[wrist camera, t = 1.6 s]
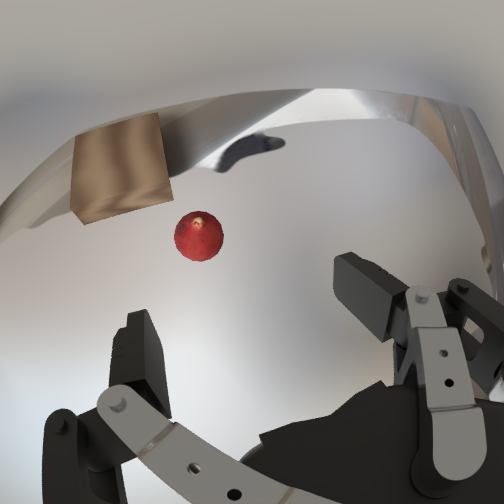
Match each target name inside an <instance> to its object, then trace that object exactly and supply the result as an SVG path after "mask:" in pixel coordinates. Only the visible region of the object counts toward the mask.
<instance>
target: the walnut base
mask: <svg viewBox="0 0 504 504" xmlns="http://www.w3.org/2000/svg"><path fill="white" fill-rule="evenodd" d="M169 201H173V196H172V190H171V185H170V180H169V175H168V170H167V164H166V159H165V153H164V148H163V142H162V136H161V130H160V124H159V117H158V112H157V113H153V114H149V115H144V116H140V117H136V118H133V119H129V120H125V121H122V122H118V123H115V124H111V125H108V126H105V127H102V128H98V129H95V130H92V131H89V132H86V133H84V134H81V135H78V136H76V139H75V146H74V155H73V165H72V178H71V198H70V209H71V210H72V211H73V212H74V214H75V215H76V216H77V217H78V218H79V220H80V221H81V222H82V223H83V224H84V225H86V224H89V223H92V222H96V221H99V220H102V219H106V218H109V217H111V216H112V217H113V216H116V215H120V214H123V213H127V212H130V211H134V210H138V209H141V208H145V207H149V206H153V205H157V204H161V203H164V202H169Z"/></svg>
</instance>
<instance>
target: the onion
mask: <svg viewBox="0 0 504 504" xmlns="http://www.w3.org/2000/svg"><path fill="white" fill-rule="evenodd" d="M223 238H224V234H223V231H222V227H221V224H220V223H219V222H218V220H217V219H216V218H215V217H214V216H213V215H211V214H209V213H207V212H201V211H197V212H191V213H189V214H187V215H185V216H184V217H182V219H181V220H180V221H179V223H178V224H177V226H176V229H175V234H174V240H175V244H176V247H177V249H178V250H179V251H180V252H181V254H182V255H183V256H185V257H187V258H189V259H191V260H192V261H205V260H208V259H211V258H212V257H214V256H215V255H216V254H218V252H219V250H220V249H221V247H222V244H223Z"/></svg>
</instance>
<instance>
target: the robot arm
mask: <svg viewBox="0 0 504 504" xmlns="http://www.w3.org/2000/svg"><path fill="white" fill-rule="evenodd" d="M333 289H334V293H335V295H336V297H337V299H338V300H339V301H340V302H341V303H343V305H344V306H345V307H346V308H347V309H348V310H350V312H351V313H352V314H353V315H354V316H356V317H357V318H358V319H359V320H360V321H361V322H362V323H363V324H364V325H365V326H366V327H367V328H368V329H369V330H370V331H371V332H372V333H373V334H374V335H375V336H376V337H377V338H378V339H379V340H380V341H381V342H382V343H383V342H385V341H387V340H389V339H391V338H393V339H394V343H393V359H394V383H393V386H388V387H386V386H385V384H384V383H383V382H382V381H381V380H380V381H378V382H377V383H375V384H373V385H371V386H370V387H368V388H366V389H364V390H362V391H360V392H358V393H357V394H355V395H354V396H353V397H352V398H350V399H349V400H348V401H347V402H346V403H344V404H343V405H342V406H341V407H340V408H339V409H337V410H336V411H335V412H334V413H332V414H331V415H329V416H325V417H320V418H315V419H310V420H305V421H299V422H293V423H290V424H288V425H285V426H282V427H280V428H277V429H274V430H271V431H269V432H265V433H262V434H259V437H260V441H261V443H260V444H258V445H257V446H255V447H254V448H252V449H251V450H250V451H249V452H247V453H246V454H245V455H244V456H243V457H242V458H241V459H240V461H239V462H238V461H236V460H235V459H233V458H231V457H230V456H228V455H226V454H224V453H223V452H221V451H220V450H218V449H217V448H215V447H213V446H212V445H210V444H209V443H207V442H206V441H204V440H202V439H201V438H200V437H198V436H197V435H195V434H194V433H192V432H191V431H189V430H188V429H187V428H185V427H184V426H182V425H181V424H179V423H177V422H174V423H173V422H171V421H170V420H168V419H171V418H172V416H171V410H170V403H169V396H168V389H167V382H166V372H165V363H164V354H163V349H162V344H161V341H160V339H159V337H158V334H157V332H156V330H155V327H154V325H153V323H152V320H151V318H150V316H149V313H148V311H147V310H146V309H144V310H140V311H136V312H132V313H128V316H127V326H126V327H124V328H120V329H119V330H118V332H117V333H116V335H115V337H114V339H113V346H112V349H113V350H112V355H111V357H112V358H111V364H110V375H109V388H108V389H106V390H105V391H104V392H103V393H102V394H101V395H100V397H99V399H98V401H97V407H96V408H94V409H92V410H89V411H87V412H85V413H83V414H80V415H78V416H76V415H75V414H74V413H73V412H72V411H71V410H68V409H59V410H56V411H54V412H53V413H52V414H51V415H50V416H49V417H48V418H47V420H46V423H45V427H44V439H43V455H42V496H43V504H128V503H127V498H126V492H125V487H124V481H123V475H122V469H121V464H122V463H125V462H127V461H129V460H132V459H134V458H136V457H138V459H139V460H140V461H141V462H143V463H144V464H145V465H146V466H147V467H148V468H149V469H150V470H151V471H152V472H153V473H154V474H156V475H157V476H158V477H159V478H160V479H161V480H163V481H164V482H165V483H166V484H167V485H168V486H170V487H171V488H172V489H174V490H175V491H176V492H177V493H178V494H180V495H181V496H183V497H184V498H185V499H186V500H187V501H189V502H190V503H192V504H504V306H503V305H501V304H500V303H499V302H497V301H496V300H495V299H493V298H492V297H490V296H489V295H488V294H486V293H485V292H484V291H482V290H481V289H480V288H478V287H477V286H475V285H474V284H473V283H471V282H470V281H468V280H465V279H460V278H456V279H453V280H451V281H450V282H449V286H448V289H447V291H445V292H440V293H435V292H434V291H433V290H431V289H430V288H428V287H424V286H414V287H411V288H410V287H408V286H407V285H405V284H404V283H403V282H401V281H400V280H398V279H397V278H395V277H394V276H393V275H391V274H389V273H388V272H387V271H386V270H384V269H382V268H381V267H380V266H378V265H377V264H375V263H373V262H371V261H368V260H365V259H362V258H361V257H359V256H358V255H356V254H355V253H353V252H348V253H345V254H342V255H339V256H336V257H335V259H334V281H333ZM467 318H470V319H471V320H472V321H473V322H474V323H476V324H477V325H478V326H479V327H480V328H481V329H482V330H483V332H484V340H483V342H482V344H481V343H480V342H478V341H477V340H476V339H475V338H474V337H473V336H472V335H471V334H470V333H468V332H467V331H466V330H465V329H464V326H465V323H466V321H467ZM470 377H471V378H472V379H473V380H474V381H475V382H476V383H477V384H478V385H479V386H480V387H481V389H482V390H483V391H484V392H485V393H486V394H487V395H488V396H489V398H490V400H484V399H478V398H474V395H473V389H472V384H471V379H470Z"/></svg>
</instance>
